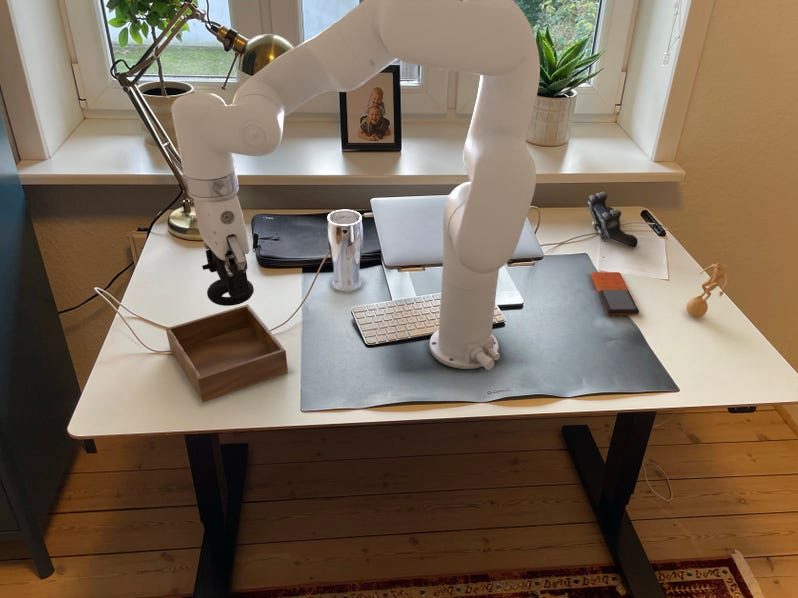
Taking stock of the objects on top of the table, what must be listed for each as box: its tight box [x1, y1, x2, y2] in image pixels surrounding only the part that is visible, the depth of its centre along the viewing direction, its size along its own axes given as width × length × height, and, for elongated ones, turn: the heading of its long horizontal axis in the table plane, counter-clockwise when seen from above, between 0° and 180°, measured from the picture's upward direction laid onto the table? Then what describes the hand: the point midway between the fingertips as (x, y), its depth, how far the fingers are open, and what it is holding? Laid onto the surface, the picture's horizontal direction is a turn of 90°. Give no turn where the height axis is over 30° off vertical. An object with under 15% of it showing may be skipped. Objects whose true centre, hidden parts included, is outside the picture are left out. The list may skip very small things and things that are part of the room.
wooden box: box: [165, 303, 289, 403], centre depth 129 cm, size 16×15×5 cm
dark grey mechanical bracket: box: [586, 191, 639, 249], centre depth 172 cm, size 16×7×10 cm, turn 10°
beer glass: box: [326, 209, 364, 293], centre depth 148 cm, size 7×7×15 cm
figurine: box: [685, 262, 730, 318], centre depth 145 cm, size 8×6×12 cm
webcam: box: [201, 251, 255, 307], centre depth 120 cm, size 8×8×10 cm
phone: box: [590, 271, 640, 316], centre depth 152 cm, size 6×1×15 cm
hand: (228, 280), depth 122 cm, fingers closed on webcam, 7 cm apart
